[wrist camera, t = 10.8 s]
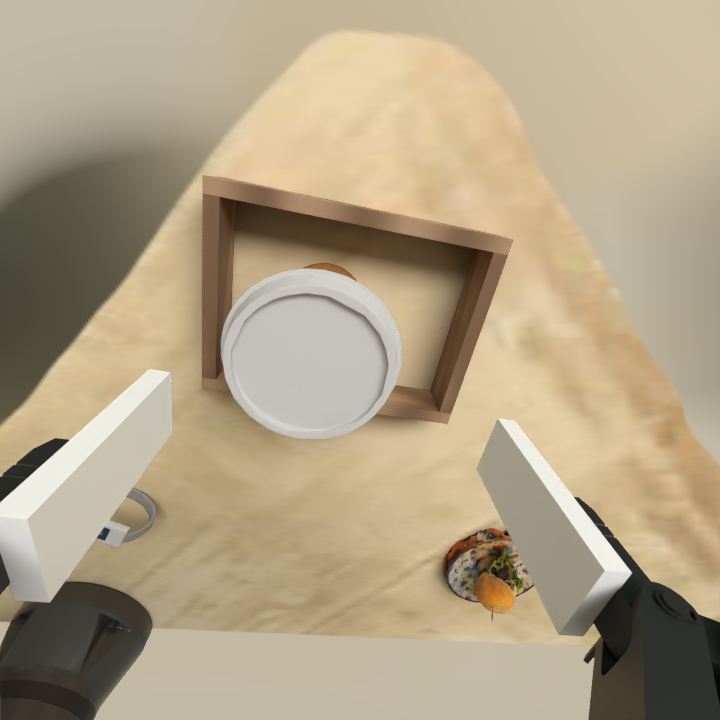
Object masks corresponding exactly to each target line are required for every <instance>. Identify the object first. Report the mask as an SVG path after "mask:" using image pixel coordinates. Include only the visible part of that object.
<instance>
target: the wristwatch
mask: <svg viewBox="0 0 720 720" xmlns="http://www.w3.org/2000/svg"><path fill="white" fill-rule="evenodd" d="M126 497H129V498H132V499H134V500H136V501H137V502H139V503H140V504H141V505H143V506H144V508H145V509H146V510H147V512H148V514H149V522H148V523H147V524H146V525H145V526H143V527H142V528H140V529H138V530H136V531H133V532H129V529H130V527H129V526H126V525H123V524H120V523H118V522H115V521H112V520H109V521H108V523H107V524H106V525H105V527H104V528H103V530H102V531H101V532H100V534H99V535H98V537H97V538H96V539H95V541H98V542H101V543H104V544H107V545H110V546H113V547H116V548H119V547H120V545H121V544H122V543H124V542H129V541H132V540H134V539H136V538H138V537H140V536H141V535H143V534H144V533H145V532H146V531H148V530H149V528H150V527H151V525H152V524H153V522H154V520H155V518H156V515H157V510H156V506H155V505H154V503H153V502H152V500H151V499H150V498H149V497H148V496H146V495H145V494H144V493H142V492H141V491H139V490H137V489H134V488H132V489H131V491H130V492H129V493H128V495H127V496H126Z"/></svg>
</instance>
